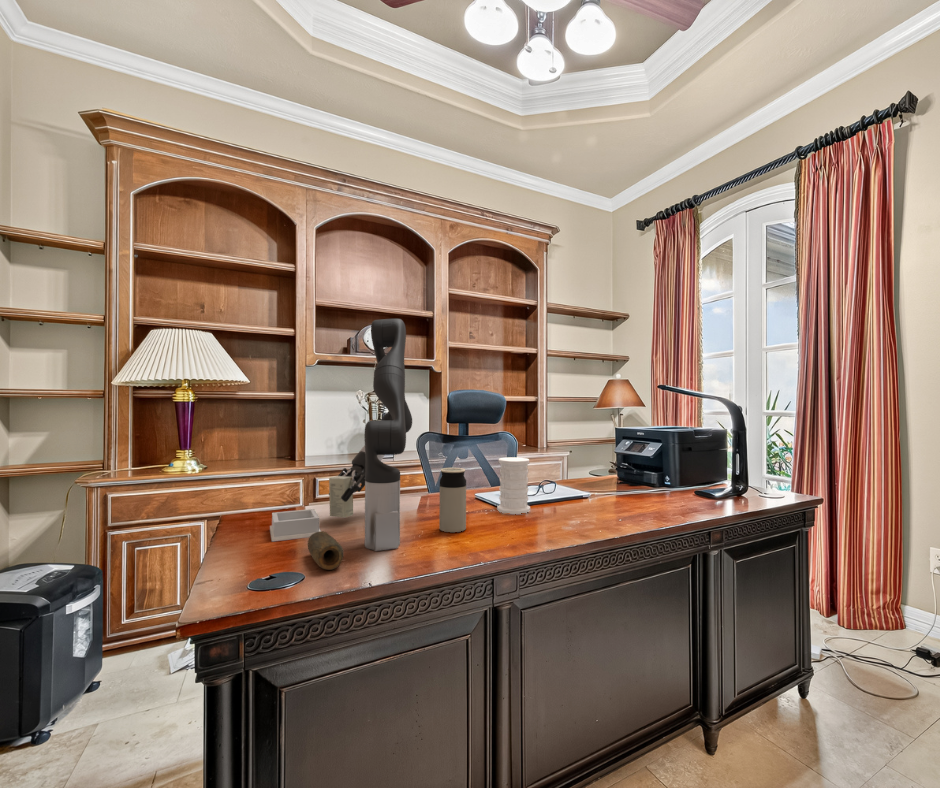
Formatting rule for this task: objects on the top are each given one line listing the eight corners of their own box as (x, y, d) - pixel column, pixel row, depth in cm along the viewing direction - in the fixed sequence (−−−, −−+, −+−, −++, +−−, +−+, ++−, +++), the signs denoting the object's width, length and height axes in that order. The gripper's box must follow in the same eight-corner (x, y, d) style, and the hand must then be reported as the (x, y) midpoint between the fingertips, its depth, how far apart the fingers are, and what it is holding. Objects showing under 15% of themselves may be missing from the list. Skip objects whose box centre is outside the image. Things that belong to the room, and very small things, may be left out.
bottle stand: (321, 535, 132) (321, 518, 132) (271, 541, 126) (272, 523, 126) (315, 524, 143) (315, 508, 144) (269, 529, 138) (270, 512, 138)
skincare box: (353, 515, 147) (353, 476, 147) (344, 518, 143) (344, 478, 143) (337, 513, 149) (338, 475, 150) (328, 516, 146) (328, 477, 146)
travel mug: (462, 534, 134) (463, 471, 134) (436, 532, 136) (436, 470, 136) (468, 526, 142) (468, 467, 142) (443, 525, 144) (443, 466, 144)
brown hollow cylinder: (349, 569, 106) (349, 540, 106) (318, 575, 102) (318, 545, 102) (330, 551, 119) (331, 525, 119) (302, 556, 115) (302, 529, 115)
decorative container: (509, 516, 155) (509, 462, 155) (491, 508, 165) (491, 458, 165) (537, 512, 161) (537, 460, 161) (517, 505, 171) (517, 456, 171)
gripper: (350, 448, 157) (318, 488, 148) (374, 452, 147) (341, 494, 138) (364, 463, 161) (333, 502, 152) (388, 467, 150) (356, 509, 142)
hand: (336, 498), depth 145 cm, fingers closed on skincare box, 7 cm apart
